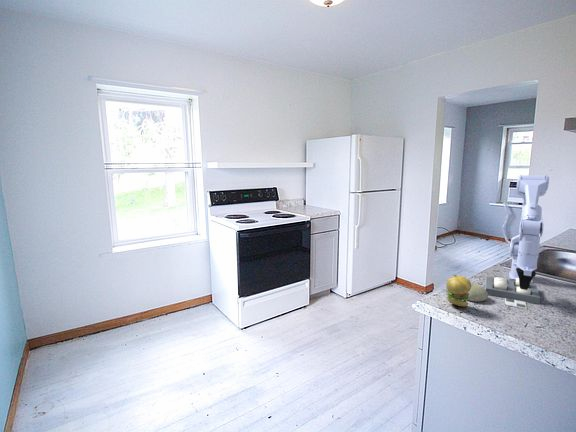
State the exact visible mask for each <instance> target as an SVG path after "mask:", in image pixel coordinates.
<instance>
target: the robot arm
mask: <svg viewBox="0 0 576 432" xmlns="http://www.w3.org/2000/svg"><path fill="white" fill-rule="evenodd" d="M549 183H550V177H549V176H548V175H547V174H546V175H522V174H519V175H518V176H517V181H516V190H515V191H516V195H518V196H520V197H521V198H522V207H521V217H520V222H519V227H518V229H519V230H518V235H515V236H513V237H511V239H510V242H509V244H510V245H509V253H508V255H509V257H511V258H512V259H511V268H510V271H509V272H508V278H509V279H508V280H514V281H516V278H519V285H520V289H525V290H527V289H528V287H529V285H530V283H532V284H534V277H536V275H537V273H536V270H537V269H538V266H537V265H538V260H539V259H538V258H539V257H540V243H541V242H540V241H541V238H542V236H543V233H544V220H543V218H542V216H543V215H542V210H543V209H542V207H541V206H540V204H539V199H540V197H543V196H545V194H547V191H548V188H549Z"/></svg>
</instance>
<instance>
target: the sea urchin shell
mask: <svg viewBox="0 0 576 432" xmlns="http://www.w3.org/2000/svg"><path fill="white" fill-rule="evenodd" d="M468 293H469V295H468V298H469V299H468V300H467V301H470V302H473V303H474V302H476V303H477V302H484V301H487V300H488V297H489V295H488V294H487V291H486V288H484V287H482V286H481V285H479V284H475V283H471V289H470V291H468Z"/></svg>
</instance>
